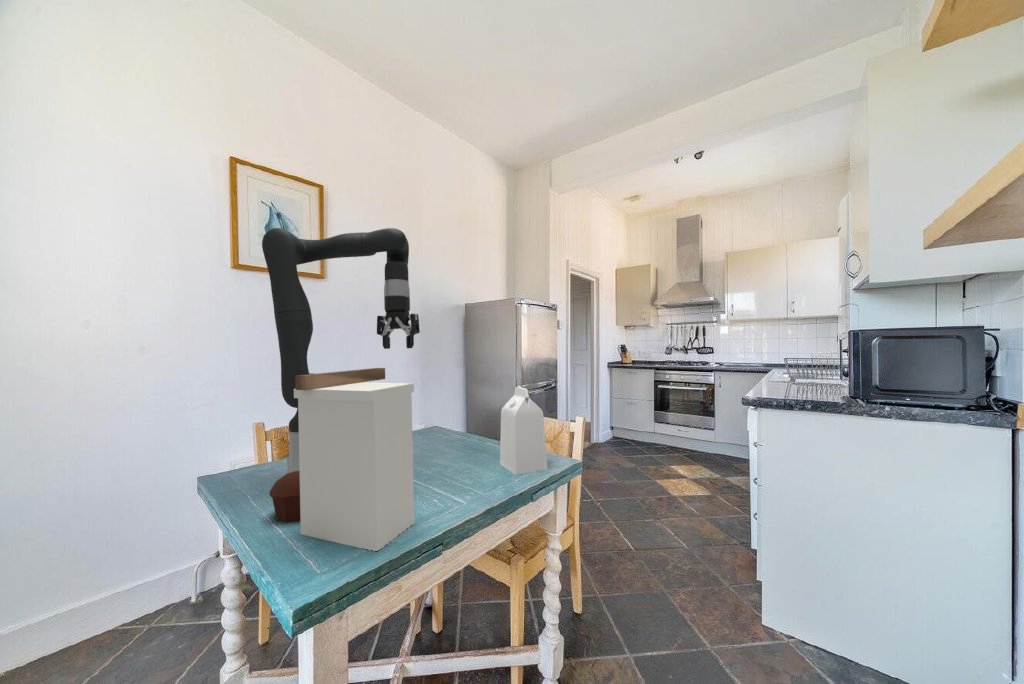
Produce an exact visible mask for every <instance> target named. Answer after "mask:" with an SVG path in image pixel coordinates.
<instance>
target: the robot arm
mask: <svg viewBox="0 0 1024 684" xmlns="http://www.w3.org/2000/svg"><path fill="white" fill-rule="evenodd" d="M407 238H408V237H407V236H406V234H405V232H403V231H402V229H398V228H393V227H389V228H381V229H377V230H373V231H368V232H365V231H364V232H348V233H342V234H338V235H334V236H330V237H328V238H327V237H326V238H321V239H305V238H304V239H303V238H299V237H297V236H296V235H295V234H293V233H292V232H290V231H289V230H286V229H284V228H280V227H274V228H271V229H269V230H267V231H266V233H265V234H264V235H263V237H262V240H261V242H262V243H261V249H262V253H263V256H264V260H265V263H266V267H267V268H266V269H267V271H268V276H269V281H270V289H271V296H272V297H271V298H272V304H273V314H274V321H275V328H276V333H277V339H278V348H279V358H280V383H281V384H280V385H281V388H280V389H281V394H282V398H283V400H284V402H285V403H286V405H288V406H289V407H292V408H295V409H296V412H295V415H294V416H293V417H292V418H291V419H290V420H289V422H288V446H289V447H288V449H289V452H288V454H289V455H288V456H287V460H286V461H287V462H286V463H287V464H286V465H287V468H286V469H287V474H288V473H290V472H294V471H300V468H299V418H298V398H294V389H296V380H295V376H298V375H308V374H315V372H314V373H310V370H309V366H308V350H309V347H310V344H311V340H312V336H313V333H314V323H313V316H312V310H311V309H312V308H311V306H310V302H309V299H308V297H307V295H306V294H307V293H305V290H304V288H303V286H302V284H301V281H300V278H299V274H298V266H299V265H303V264H307V263H308V264H309V263H312V262H318V261H323V260H329V259H330V260H331V259H341V258H342V259H343V258H358V257H359V258H361V257H371V256H375V255H376V253H386V263H385V264H384V286H383V297H384V298H383V299H384V301H383V302H384V304H383V305H384V312H385V315H377V318H376V335H379V336H381V337H382V347H383V349H385V350H386V349H387V350H388V349H391V337H390V336H391V334H392V332H394V330H398V329H399V330H400V329H401V330H402V331H404V333H405V335H406V336H405V337H406V338H405V341H406V343H405V344H406V349H413V347H414V345H415V343H414V342H415V340H414V339H415V335H417V334H420V331H421V330H420V318H419V314H418V313H410V311H411V297H410V296H411V294H410V293H411V291H410V282H409V281H410V280H409V267H408V266H409V256H410V255H409V254H410V245H409V241H408V239H407Z"/></svg>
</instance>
